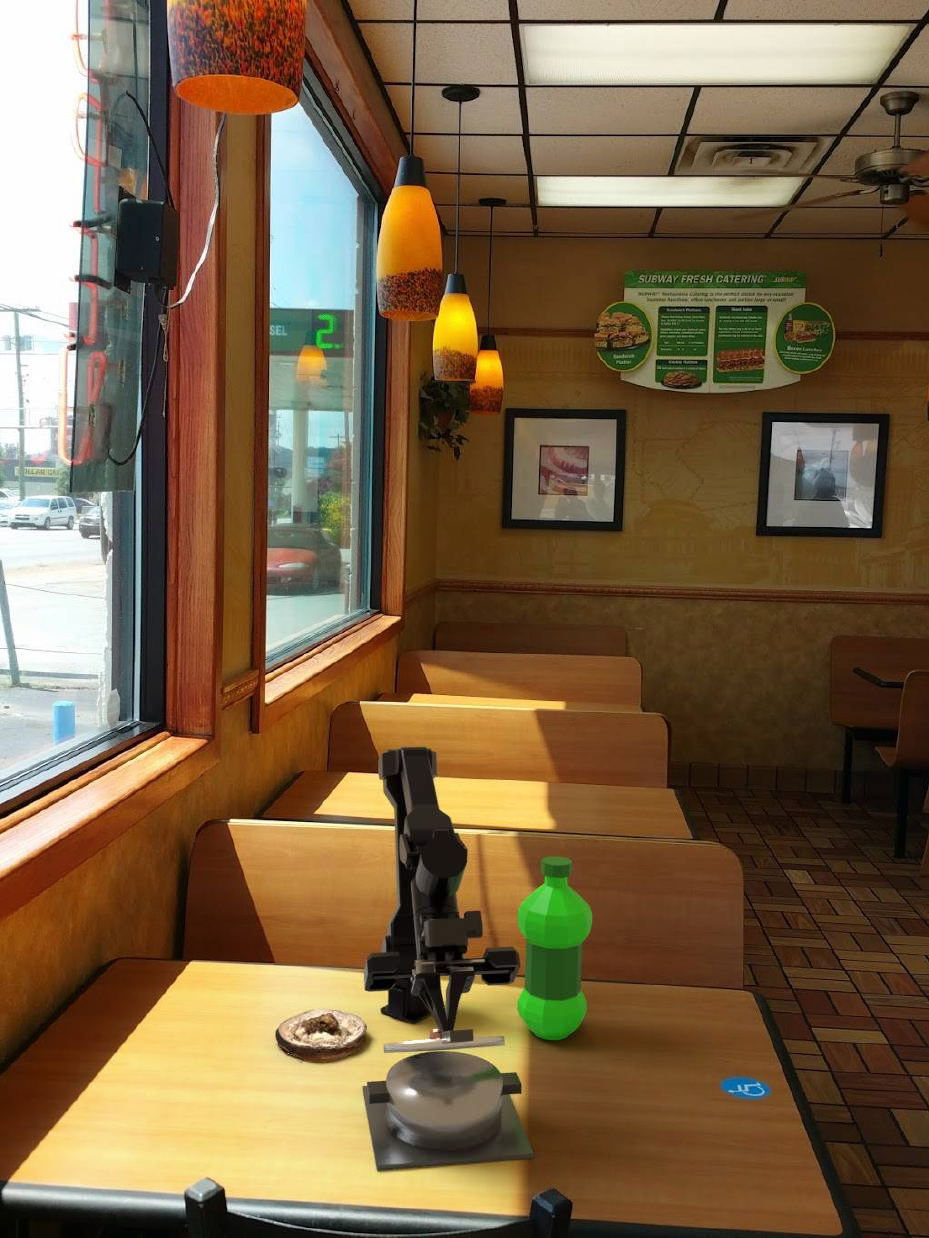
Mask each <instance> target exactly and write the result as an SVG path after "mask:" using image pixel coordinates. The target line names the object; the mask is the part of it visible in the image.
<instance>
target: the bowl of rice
mask: <svg viewBox="0 0 929 1238" xmlns="http://www.w3.org/2000/svg"><path fill="white" fill-rule="evenodd" d="M367 1028H368V1026H367V1023H365V1021H364V1020H363V1018H361V1017H360V1016H358V1015H356V1014H353V1013H350V1012H347V1011H345V1010H344V1011H342V1010H341V1009H330V1008H316V1009H310V1010H306V1011H303V1012H301V1013H299V1014H296V1015H294V1016H291V1017H290V1018H288V1019H286V1020H284V1021H283V1022H281V1023H280V1024H279V1025H278V1027H277V1029H276V1030H275V1032H274V1033H275V1036H274V1037H275V1040H276V1042H277V1046H279V1047H280V1048H281V1047H282V1048H281V1049H282V1050H281V1051H282V1052H283V1053H285V1054H286V1053H289V1054H292V1055H291V1056H293V1055H294V1056H293V1057H296V1056H297V1058H299V1057H300V1058H299V1059H300V1060H299V1061H300V1064H303V1061H304V1060H305V1061H304V1062H308V1061H310V1062H315V1061H317V1062H316V1063H318V1062H319V1063H320V1062H321V1063H323V1062H322V1061H324V1062H329V1061H330V1060H331V1061H335V1060H339V1059H342V1058H341V1057H343V1058H345V1057H344V1056H346V1057H348V1056H347V1055H349V1054H350V1053H352V1054H353V1055H355V1056H356V1055H357V1054H356V1051H358V1050H359V1049H361V1048H362V1046H361V1045H363V1043H364V1042H365V1041H366V1038H365V1036H366V1032H367V1030H368V1029H367ZM364 1035H365V1036H364ZM364 1038H365V1039H364ZM289 1054H287V1055H286V1056H285V1057H287V1056H288V1055H289ZM350 1055H351V1054H350ZM350 1055H349V1056H350ZM301 1058H303V1059H301ZM338 1058H339V1059H338ZM334 1059H335V1060H334Z"/></svg>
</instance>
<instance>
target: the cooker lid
mask: <svg viewBox="0 0 929 1238" xmlns="http://www.w3.org/2000/svg"><path fill="white" fill-rule="evenodd" d="M505 1043H506V1042H505V1036H504V1035H503V1036H502V1035H499V1036H498V1035H497V1036H496V1035H495V1036H474V1029H473V1028H471V1029H454V1030H450V1031H446V1032H442V1034H441V1032H440V1030H439V1028H431V1029H429V1039H425V1040H424V1039H422V1040H410V1041H409V1040H408V1041H397V1042H386V1043H383V1053H384V1054H393V1053H395V1054H396V1053H397V1054H398V1053H400V1054H401V1053H412V1052H418V1053H419V1052H433V1051H450V1050H451V1051H452V1050H463V1049H464V1050H466V1049H477V1048H478V1049H479V1048H480V1049H481V1048H490V1047H491V1048H493V1047H503V1046H506V1044H505Z"/></svg>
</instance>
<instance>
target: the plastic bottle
mask: <svg viewBox="0 0 929 1238" xmlns="http://www.w3.org/2000/svg"><path fill="white" fill-rule="evenodd" d="M540 862H541V865H540V872H541V874H542V876H544V883H543V884H541V885H540V886H539V887H537V888H535V890H534V891H532V892H531V893H530V894H529V895H528V896H527V897H526V898H525V899H524V900H522V902H520V903H521V904H519V905H520V906H519V908H518V910H517V926H518V931H519V932H520V933H521V934H522V935H523V936H524V938H525V963H524V964H525V965H524V968H525V969H524V987H523V988H522V990H521V992H520V994H519V996H518V998H517V1008H516V1009H517V1012H518V1014H519V1017H520V1018H521V1020H522V1021H523V1023H524V1024H525V1026H527V1028H528V1029H529V1030H530V1031H531V1032H532V1033H534V1035H535V1036H536V1037H538V1038H540V1039H542V1040H546V1041H547V1040H548V1041H560V1040H562V1039H565V1038H568V1037H569V1036H570V1035H571V1034H572V1033H574V1032H575V1031H576V1030H577V1029H578V1028H579V1027H580V1025H581V1023H582V1022H583V1020H584V1019H585V1016H586V1014H587V1011H588V1010H587V1008H588V1003H587V1000H586V998H585V994H584V993H583V990H582V989H581V987H582V964H583V963H582V962H583V943H584V941H585V940H586V939H587V937H588V936H589V935H590V933H591V930H592V925H593V912H592V909H591V907H590V905H589V904H588V902H586V901H585V899H584V898H582V896H581V895H580V894H579V893H577V891H575V890H574V889H573V888H572V887H571V886H569V885H568V877H570V876H571V875H572V874H573V873H572V870H573V868H572V867H573V861H572V860H571V859H570V858H568V857H563V856H547V857H546V856H545V857H543V858H542V859H541V861H540Z"/></svg>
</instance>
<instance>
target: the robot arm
mask: <svg viewBox="0 0 929 1238" xmlns="http://www.w3.org/2000/svg"><path fill="white" fill-rule="evenodd" d="M437 758H438V757H437V752H436V751H433V750H432V748H431V747H429V748H428V747H427V746H401V748H396V749H395V748H393V749H391V748H390V749H388V748H387V749H386V752H383V753H381V754H380V755H379V757H378V767H377V768H378V769H377V770H378V779H379V780H380V781H381V780H382V790H383V791H382V792H383V794H384V796H385V797H386V800H388V802H389V804H390V805H391V806H392V808H393V812H394V813H393V814H394V815H393V816H394V839H395V840H394V845H395V847H394V849H395V872H396V873H395V874H396V876H395V877H396V879H395V880H396V904H397V907H396V909H395V911H394V913H393V915H391V918H390V920H389V922H388V924H387V929H386V930H387V935H384V937H383V941H382V943H381V944H382V945H381V949H380V952H371V953H370V954H368V956H367V957H366V959H365V964H364V970H363V985H364V987H363V988H364V991H365V992H368V993H370V992H387V1004H386V1005H384V1006H381V1007H380V1013H382V1014H384V1015H388V1016H390V1017H393V1018H397V1019H398V1020H399V1019H400V1020H403V1021H404V1022H408V1023H412V1024H416V1023H418V1022H420V1021H421V1020H423V1019H425V1018H427V1017H428V1016H430V1015H431V1016H432V1018H433V1020H434V1022H435V1024H436V1026H437V1027H438V1028H437V1029H439V1030H440V1032H441V1034H442V1032H446V1031H450V1030H455V1025H456V1024H455V1023H456V1021H457V1020H456V1019H457V1014H458V1010H459V1004H460V1001H461V997H462V995H463V994H468V993H470V990H471V988H472V986H473V983H474V981H475V978H476V975H480V976H481V981H482V982H484V983H485V984H486V985H487V986H505V985H506V986H509V985H511V984H514V983H515V980H516V978H517V975H518V974H519V971H520V969H521V959H520V953H519V951H518V950H517V949H516V948H515V947H514V946H497V947H496V946H495V947H493V946H492V947H485V950H484V953H483V955H482V957H473V958H472V957H471V958H465V957H464V954H465V955H466V954H467V952H468V946H469V940H470V939H480V938H482V937H483V936H484V935H483V934H484V927H483V919H482V912H481V910H467V911H464V913H463V917H462V918H461V916H460V912H459V904H458V897H457V896H458V894H457V892H458V891H459V890H460V886H461V883H462V880H463V877H464V873H465V870H466V867H467V863H468V857H469V855H468V852H469V851H468V850H469V849H468V847H467V846H466V844H465V843H464V842H463V840H462V839H461V837H460V835H459V832H455V828H454V825H453V822H452V818H451V816H450V815H448V814H447V813H445V812H444V811H442V810H441V808H440V805H439V800H438V795H437V791H436V785H435V779H436V778H437V777H438V761H437V760H438V759H437ZM441 977H447V979H448V983H447V986H446V989H445V1001H444V997H443V992H442V983H441V981H442V980H441Z"/></svg>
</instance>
